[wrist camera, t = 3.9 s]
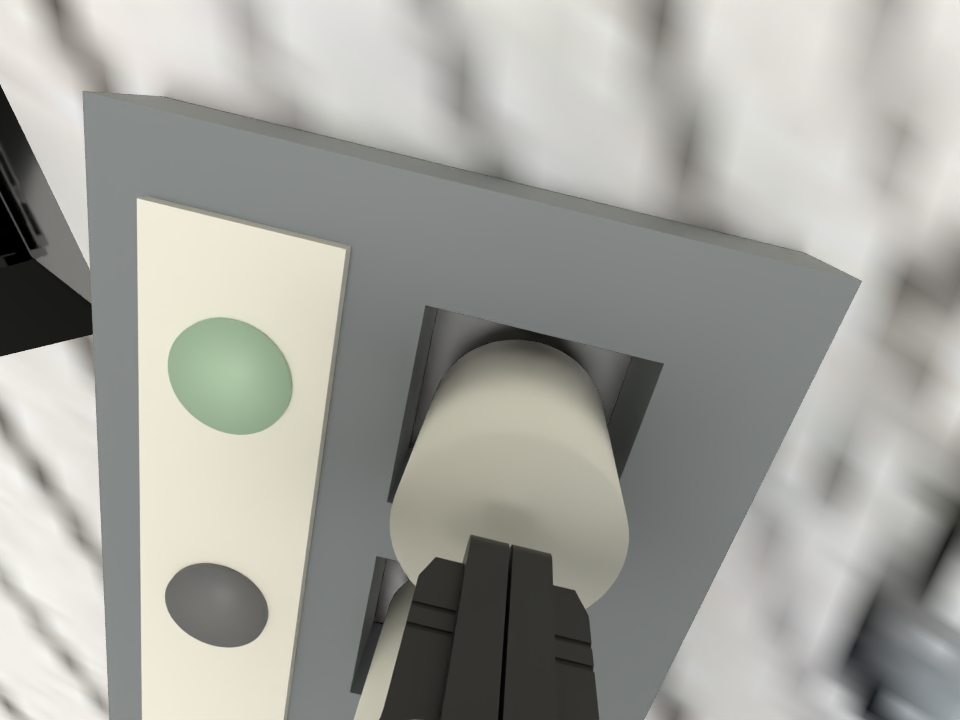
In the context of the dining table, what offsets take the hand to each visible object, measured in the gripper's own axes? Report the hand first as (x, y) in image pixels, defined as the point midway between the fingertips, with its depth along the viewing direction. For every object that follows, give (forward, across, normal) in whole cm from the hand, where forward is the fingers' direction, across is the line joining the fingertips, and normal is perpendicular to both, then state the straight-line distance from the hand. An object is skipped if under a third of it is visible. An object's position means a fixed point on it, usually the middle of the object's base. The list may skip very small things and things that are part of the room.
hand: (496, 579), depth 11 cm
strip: (+5, +7, +8) cm, 12 cm away
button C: (+6, 0, 0) cm, 6 cm away
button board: (+8, +2, +8) cm, 12 cm away
